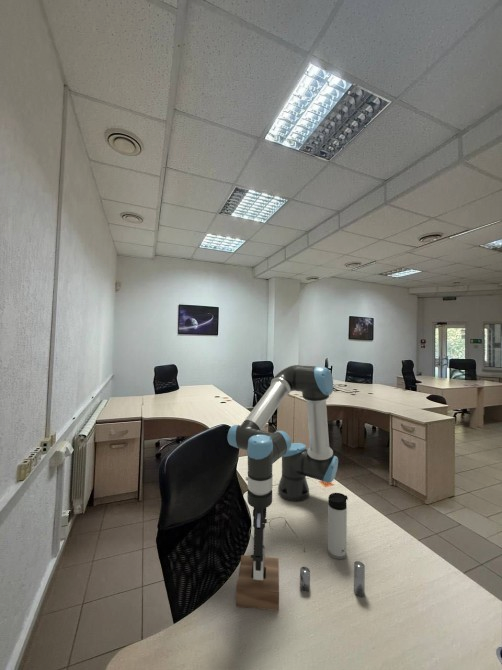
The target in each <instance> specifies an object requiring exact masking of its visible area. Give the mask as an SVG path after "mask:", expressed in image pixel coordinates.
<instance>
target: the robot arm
mask: <svg viewBox="0 0 502 670" xmlns="http://www.w3.org/2000/svg"><path fill="white" fill-rule="evenodd" d="M333 390H334V377H333V374H332V372H331V370H330V369H329V368H327V367H324V366H319V365H317V366H315V365H299V364H294V365H293V364H292V365H290V366H288V367H285V368H283V369H282V370H280V371H279V372H277V374H275V376H274V377H273V378H272V379H271V381H270V386H269V387H268V388H267V390H266V391H265V392H264V394H263V395H262V396H261V398H260V399H259V401H258V402H257V403H256V404H255V406H254V407H253V409H251V411H250V412H249V414H248V415H247V416H246V418H245V419H244V421H243V422H242V423H241V425H240V424H234V425H232V426H231V427H230V428H229V429H228V433H227V436H226V438H227V442H228V444H229V445H230V446H231V447H234V448H237V449H239V450H245V451H246V452H247V453H246V454H247V476H245V481H247V499H246V500H247V503H248V505H250V506H251V507H253V510H252V517H253V524H252V525H253V526H252V527H253V539H254V540H253V554H250V556H251V558H253V579H254V580H263V545H264V547H266V524H268V523H267V522H268V519H267V518H266V517H267V508H268V507H270V506H271V505H272V503H273V480H274V479H273V476H274V475H273V464H274V463H275V462H276V461H278V460H279V459H281V477H280V480H279V483H278V485H277V486H278V487H277V492H279V493H278V495H279V494H280V495H281V496H282V497H281V496H280V495H279V496H280V497H281V498H282V499H284V498H285V499H284V500H287V501H290V502H300V501H304V500H307V499H308V498H309V497H310V487H309V485H308V481H307V477H308V478H311V479H315V480H318V481H321V482H325V483H330V484H331V483H332V482H333V481H334V480H335V477H336V475H337V471H338V466H339V458H338V456H336V455H334V450H333V449H332V448H331V447H330V442H329V440H330V439H329V426H328V424H329V423H328V409H327V400H328V399H329V398H330V395H331V394H333ZM291 392H301V394H302V398H303V400H305V401H306V413H307V425H308V437H309V447H308V448H307V446H306V444H305V443H302V442H292V440H291V437H290V436H289V434H288V433H287V432H285V431H284V430H277V431H274V432H270V431H264V428H265V427H266V425H267V424H268V422H269V420H270V419H271V417H273V415H274V414H275V411H276V410H277V408H278V407H279V405H280V404H281V403H282V401H283V400H284V398H285V396H289V395H290V393H291Z"/></svg>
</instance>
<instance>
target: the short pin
mask: <svg viewBox="0 0 502 670" xmlns="http://www.w3.org/2000/svg"><path fill="white" fill-rule="evenodd" d="M299 588H300V590H301V591H302V592H304V593H308V592H310V590H311V570H310V568H309V567H307V566H302V567H300V569H299Z"/></svg>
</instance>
